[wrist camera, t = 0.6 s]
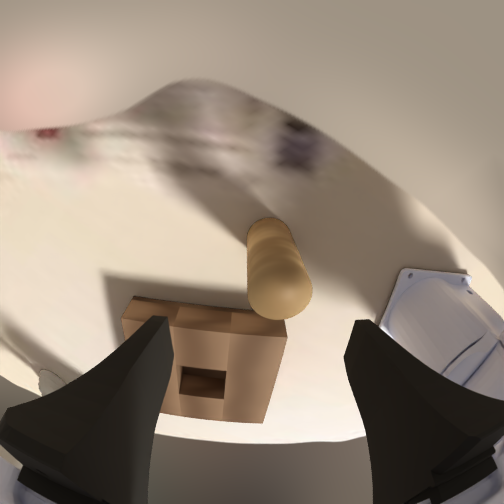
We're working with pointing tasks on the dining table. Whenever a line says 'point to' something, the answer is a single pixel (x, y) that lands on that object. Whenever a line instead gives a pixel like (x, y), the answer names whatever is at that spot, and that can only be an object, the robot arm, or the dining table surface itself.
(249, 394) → the socket block
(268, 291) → the pin
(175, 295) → the dining table surface
